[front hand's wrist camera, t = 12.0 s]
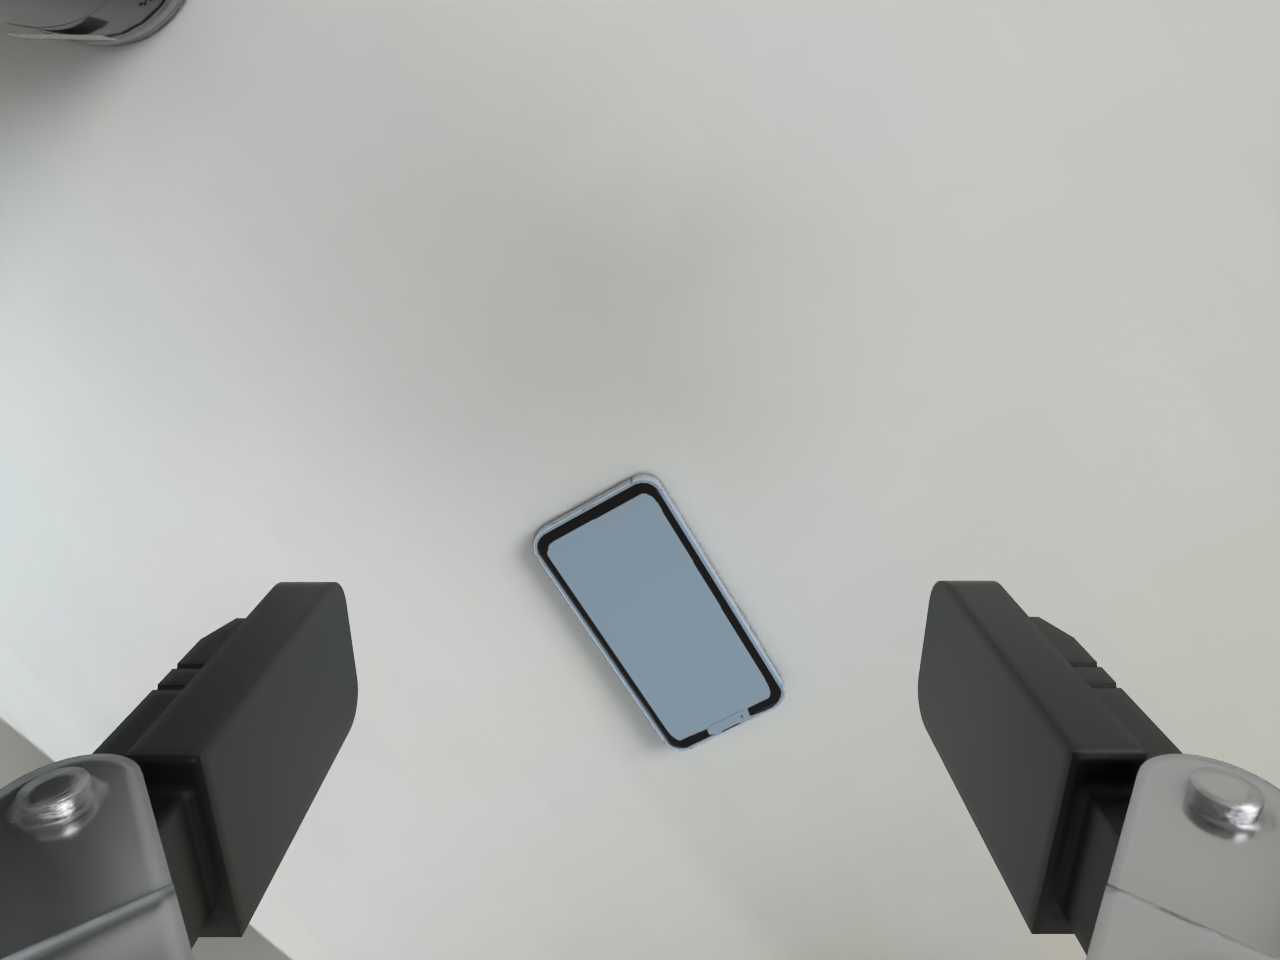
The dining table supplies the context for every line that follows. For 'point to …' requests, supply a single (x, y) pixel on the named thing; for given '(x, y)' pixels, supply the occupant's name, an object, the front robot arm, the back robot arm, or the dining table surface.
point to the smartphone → (659, 613)
